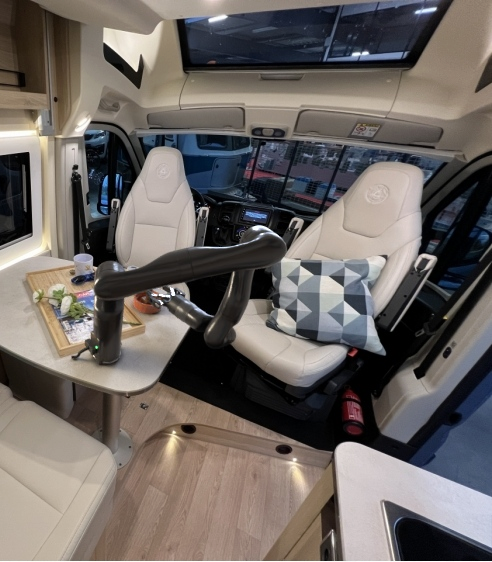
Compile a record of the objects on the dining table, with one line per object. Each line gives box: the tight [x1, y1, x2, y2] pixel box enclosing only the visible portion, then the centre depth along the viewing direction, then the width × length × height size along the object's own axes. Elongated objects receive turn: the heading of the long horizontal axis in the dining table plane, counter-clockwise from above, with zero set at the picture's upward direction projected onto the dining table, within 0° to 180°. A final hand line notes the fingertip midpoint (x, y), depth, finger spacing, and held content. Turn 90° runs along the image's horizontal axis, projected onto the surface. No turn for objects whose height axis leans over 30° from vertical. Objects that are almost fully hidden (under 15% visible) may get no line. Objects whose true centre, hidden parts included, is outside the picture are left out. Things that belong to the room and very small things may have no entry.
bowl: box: [132, 290, 163, 315], centre depth 122 cm, size 12×12×4 cm
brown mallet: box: [141, 289, 154, 305], centre depth 120 cm, size 5×4×14 cm
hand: (155, 288), depth 116 cm, fingers open, 8 cm apart
